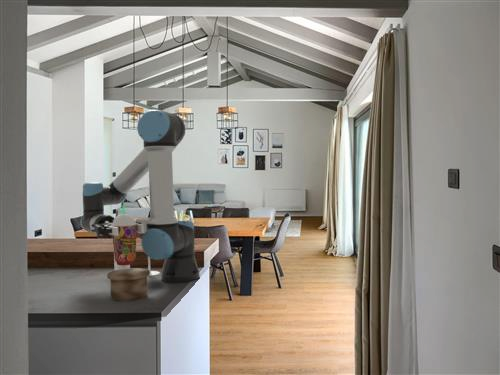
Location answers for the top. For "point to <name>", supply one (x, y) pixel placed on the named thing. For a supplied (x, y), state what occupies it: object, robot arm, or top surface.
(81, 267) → the top surface
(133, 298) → the tan muffin-shaped cylinder
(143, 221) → the wineglass
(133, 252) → the smoothie
